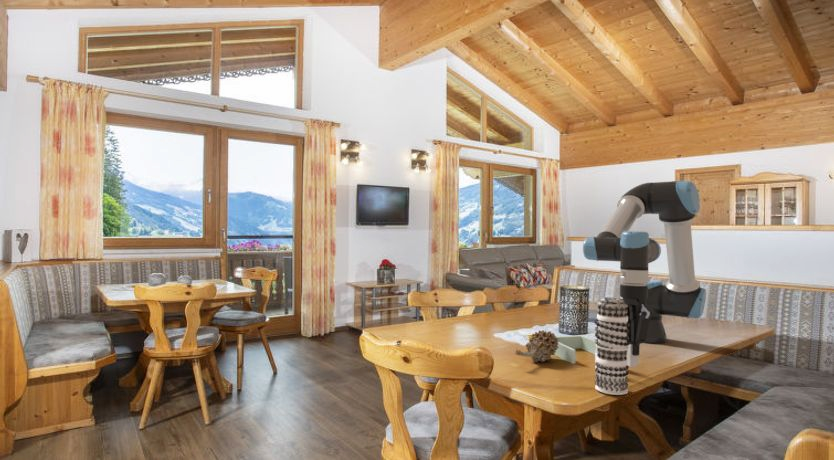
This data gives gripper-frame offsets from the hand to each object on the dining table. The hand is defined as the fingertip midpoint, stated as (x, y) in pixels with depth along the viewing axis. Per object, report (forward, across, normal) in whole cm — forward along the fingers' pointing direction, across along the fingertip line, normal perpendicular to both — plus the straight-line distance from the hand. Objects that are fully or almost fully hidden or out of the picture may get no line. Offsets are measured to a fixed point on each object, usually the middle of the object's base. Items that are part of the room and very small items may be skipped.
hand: (632, 365), depth 140 cm
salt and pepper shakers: (+5, -13, 0) cm, 14 cm away
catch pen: (+4, -29, 0) cm, 30 cm away
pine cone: (+5, -23, -19) cm, 30 cm away
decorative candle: (+5, +5, -10) cm, 13 cm away
